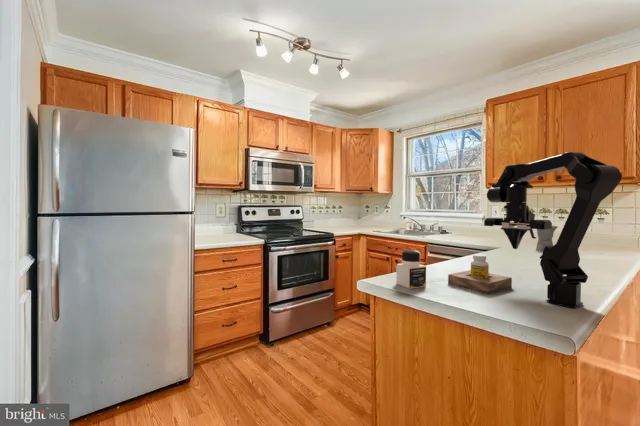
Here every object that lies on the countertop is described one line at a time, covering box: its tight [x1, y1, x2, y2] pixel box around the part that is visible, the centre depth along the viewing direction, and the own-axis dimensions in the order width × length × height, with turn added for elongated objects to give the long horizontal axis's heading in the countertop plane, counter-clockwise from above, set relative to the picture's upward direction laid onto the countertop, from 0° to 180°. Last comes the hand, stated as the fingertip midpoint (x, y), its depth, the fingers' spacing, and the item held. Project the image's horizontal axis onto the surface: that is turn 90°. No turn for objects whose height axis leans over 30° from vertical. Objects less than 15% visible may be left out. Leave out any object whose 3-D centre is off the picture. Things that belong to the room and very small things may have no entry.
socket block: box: [447, 269, 513, 295], centre depth 103 cm, size 14×14×4 cm
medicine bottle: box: [396, 249, 427, 290], centre depth 104 cm, size 7×7×12 cm
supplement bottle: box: [470, 254, 490, 279], centre depth 103 cm, size 5×5×10 cm
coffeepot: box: [528, 225, 559, 253], centre depth 181 cm, size 15×9×18 cm, turn 79°
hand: (515, 248), depth 102 cm, fingers closed
